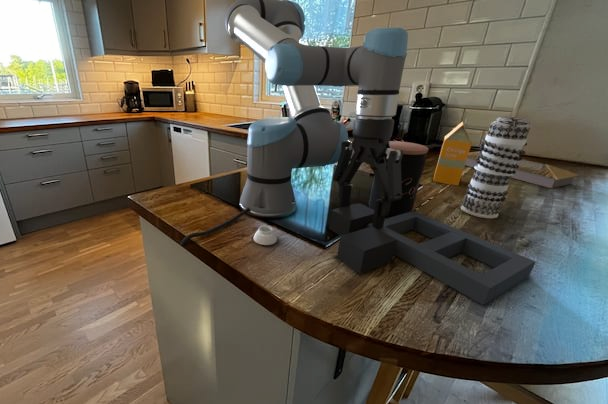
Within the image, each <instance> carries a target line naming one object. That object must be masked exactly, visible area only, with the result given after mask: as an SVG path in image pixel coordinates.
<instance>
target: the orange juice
mask: <svg viewBox="0 0 608 404" xmlns="http://www.w3.org/2000/svg"><path fill="white" fill-rule="evenodd" d="M443 138H444V139H443V143H442V145H441V148H440V152H439V153H440V154H439V157H438V160H437V164H436V168H435V171H434V175H433V180H432V181H433V182H435V183H440V184H444V185H445V184H446V185H452V186H459V184H460V182H461V178H462V175H463V172H464V169H465V167H466V165H465V164H466V160H467V157H468V154H469V153H470V151H471V147H472V145H473V142H472V139H471V137H470V136H469V134H468V131H467V129H466V127H465V125H464V121H461V122H460V123H459V124H458V125H457V126H455V127H454V128H453V129H452V130H451V131H450V132H448V133H447V134H446V135H444V137H443Z"/></svg>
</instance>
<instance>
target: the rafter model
mask: <svg viewBox="0 0 608 404" xmlns="http://www.w3.org/2000/svg"><path fill="white" fill-rule="evenodd" d="M480 151H481V150H479V151H471V152H470V151H469V154H468V157H467V160H466V164H465V167H470V168H474V167H475V166H476V164H478V163H477V162H476V159H477V158H478V155H477V154H478V153H479V152H480ZM516 163H517V165H518V166H519V167H518V168H516V169H513V170H514V171H516V173H515V174H514V175H512V176H511V179H515V180H519V181H523V182H527V183H530V184H533V185H534V184H535V185H537V186H542V187H545V188H548V189H554V188H558V187H564V186H568V185H571V184H572V182H573V180H574V178H575V177H578V176H580V175H581V174H578V173H576V172H571V171H569V170H566V169H563V168H560V167H557V166H554V165H551V164H548V163H545V164H543V163H542V162H540V163H539V162H537V161H535V162H534V161H533V160H531V161H530V160H529V159H524V158H523V159H522V160H520V161H517V162H516ZM474 169H475V168H474Z"/></svg>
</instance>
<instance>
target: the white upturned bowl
mask: <svg viewBox="0 0 608 404" xmlns="http://www.w3.org/2000/svg"><path fill="white" fill-rule="evenodd" d="M273 229H274V228H273V227H272V226H271V225H261V226H258V229H256V231H255V233H254V235H253V241H254V242H255V243H256V244H259V245H262V246H271V245H274V244H275V243H276V242H277V240H278V237H277V235H276V233H275V231H274V230H273Z"/></svg>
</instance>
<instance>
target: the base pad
mask: <svg viewBox="0 0 608 404" xmlns="http://www.w3.org/2000/svg"><path fill="white" fill-rule="evenodd" d="M372 224H373V223H370V224H368V227H372ZM368 227H367V228H368ZM378 230H380V231H382V232H384V233H386V234H388V235H390V236H392V237H394V238H396V239H397V244H396V248H395V251H394V255H395V256H397V257H398V258H400V259H401V260H403V261H405V262H407V263H408V264H410V265H412V266H414V267H415V268H417V269H419V270H420V271H422V272H425V273H426V274H427V275H429V276H432V277H433V278H435V279H436V280H438V281H440V282H442V283H443V284H445V285H447V286H448V287H450V288H452V289H454V290H456V291H457V292H459V293H461V294H462V295H464V296H466V297H468V298H470V299H471V300H473V301H475V302H476V303H478V304H480V305H481V306H484V305H487V304H488V303H490V302H491V301H492V300H495V298H497V297H500V295H502V294H504V293H505V292H507V291H508V290H511V289H512V288H513V287H515V286H517V285H519V284H520V283H522V282H523V281H525V280H526V279H528V278H529V277H530V275H531V273H532V271H533V269H534V267H535V265H536V263H537V261H536V260H533V259H531V258H529V257H526V256H523V255H522V254H519V253H516V252H514V251H513V250H512V251H511V250H509V249H507V248H504V247H502V246H500V245H497V244H495V243H492V242H490V241H488V240H485V239H482V238H480V237H478V236H475V235H473V234H471V233H468V232H466V231H464V230H461V229H459V228H457V227H454V226H451V225H449V224H447V223H444V222H441V221H439V220H437V219H434V218H432V217H430V216H428V215H425V214H422V213H420V212H418V211H415V210H412V211H411V212H408V213H404V214H401V215H397V216H394V217H391V218H385V220H384V226H383V228H380V229H378ZM410 231H415V232H417V233H419V234H422V235H424V236H426V237H428V238H430V239H429V240H426V241H423V242H420V243H419V242H417V241H415V240H412V239H411V238H409V237H406V236H404V235H403V234H404V233H407V232H410ZM461 253H462V254H464V255H465V256H466V255H467V256H468V257H470V258H473V259H474V260H476V261H479V262H481V263H482V264H485V265H487V266H490V267H491V268H492V269H489V270H488V271H486V272H485V273H483V274H480V273H478V272H476V271H474V270H473V269H470V268H468V267H466V266H464V265H462V264H461V263H459V262H457V261H454V260H452V259H451V258H452V257H455V256H457V255H459V254H461Z"/></svg>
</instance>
